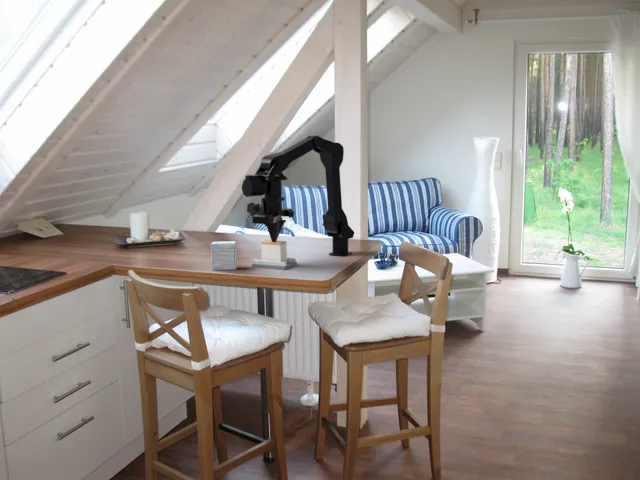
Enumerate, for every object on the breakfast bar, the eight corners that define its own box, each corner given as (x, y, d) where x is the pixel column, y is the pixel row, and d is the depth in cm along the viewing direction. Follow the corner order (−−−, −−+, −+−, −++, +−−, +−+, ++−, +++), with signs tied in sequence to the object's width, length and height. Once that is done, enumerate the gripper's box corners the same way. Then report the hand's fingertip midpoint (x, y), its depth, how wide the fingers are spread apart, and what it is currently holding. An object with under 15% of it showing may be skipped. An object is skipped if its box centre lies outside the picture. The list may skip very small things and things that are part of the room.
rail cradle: (264, 261, 231) (264, 255, 231) (296, 264, 226) (296, 257, 226) (251, 266, 223) (251, 260, 223) (284, 269, 218) (284, 263, 218)
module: (268, 260, 228) (267, 240, 227) (286, 262, 225) (286, 241, 224) (261, 263, 224) (261, 242, 223) (280, 264, 221) (280, 243, 220)
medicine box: (237, 267, 223) (236, 241, 222) (236, 270, 219) (235, 243, 217) (213, 267, 223) (212, 241, 221) (211, 270, 219) (210, 243, 217)
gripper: (264, 191, 232) (265, 236, 235) (236, 196, 215) (238, 245, 218) (294, 192, 228) (294, 238, 231) (267, 197, 211) (268, 247, 214)
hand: (274, 241), depth 223 cm, fingers closed, pressing on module
